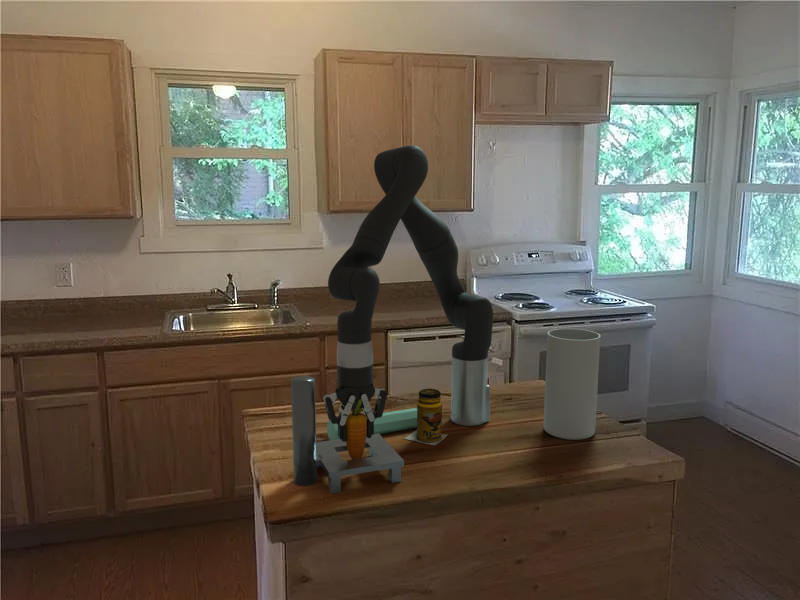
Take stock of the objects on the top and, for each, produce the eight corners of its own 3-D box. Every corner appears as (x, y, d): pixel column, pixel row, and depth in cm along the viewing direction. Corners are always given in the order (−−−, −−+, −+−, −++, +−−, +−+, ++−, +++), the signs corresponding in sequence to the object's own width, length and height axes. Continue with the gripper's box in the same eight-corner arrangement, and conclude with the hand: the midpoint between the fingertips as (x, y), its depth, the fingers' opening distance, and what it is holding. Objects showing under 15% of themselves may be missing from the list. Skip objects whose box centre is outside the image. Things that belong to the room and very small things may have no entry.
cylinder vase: (553, 419, 174) (557, 326, 170) (600, 428, 168) (606, 332, 164) (536, 434, 164) (540, 336, 160) (586, 444, 158) (592, 342, 153)
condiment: (435, 446, 157) (436, 397, 155) (403, 439, 161) (404, 392, 159) (448, 435, 163) (449, 389, 161) (417, 429, 167) (418, 384, 165)
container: (419, 400, 171) (328, 414, 160) (429, 415, 167) (337, 430, 155) (415, 418, 174) (325, 432, 163) (425, 433, 170) (333, 449, 158)
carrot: (342, 461, 143) (341, 395, 141) (363, 458, 145) (363, 392, 142) (348, 470, 139) (347, 402, 136) (371, 467, 141) (370, 399, 138)
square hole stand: (378, 453, 152) (378, 360, 149) (404, 482, 138) (404, 380, 134) (286, 467, 145) (283, 370, 141) (302, 499, 130) (299, 392, 126)
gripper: (381, 353, 144) (381, 428, 147) (316, 360, 139) (318, 437, 142) (393, 362, 137) (393, 440, 140) (326, 369, 132) (327, 450, 135)
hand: (355, 438), depth 141 cm, fingers closed on carrot, 5 cm apart
